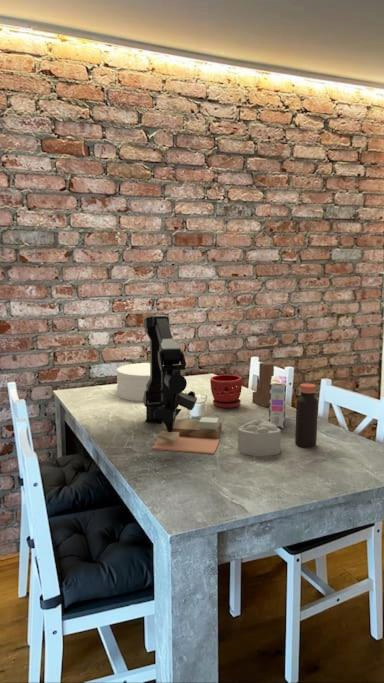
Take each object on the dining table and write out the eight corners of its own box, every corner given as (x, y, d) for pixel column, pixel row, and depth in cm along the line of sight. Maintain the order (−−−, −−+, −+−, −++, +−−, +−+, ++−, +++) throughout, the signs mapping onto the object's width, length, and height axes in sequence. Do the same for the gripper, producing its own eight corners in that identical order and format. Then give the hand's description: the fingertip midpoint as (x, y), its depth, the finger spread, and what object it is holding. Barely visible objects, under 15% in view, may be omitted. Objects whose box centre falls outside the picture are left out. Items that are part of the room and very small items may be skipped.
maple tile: (162, 431, 168) (162, 438, 168) (157, 435, 163) (157, 443, 164) (179, 432, 167) (179, 439, 167) (175, 437, 162) (175, 444, 162)
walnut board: (165, 436, 172) (165, 427, 172) (172, 426, 182) (172, 418, 181) (217, 439, 168) (217, 431, 168) (221, 430, 178) (221, 422, 178)
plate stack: (145, 383, 249) (144, 360, 248) (190, 391, 233) (190, 367, 231) (104, 394, 227) (103, 370, 225) (151, 405, 211) (151, 378, 209)
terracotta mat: (152, 449, 160) (152, 447, 160) (162, 436, 172) (162, 434, 172) (214, 454, 156) (214, 452, 156) (219, 440, 168) (220, 439, 168)
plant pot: (233, 399, 219) (234, 373, 217) (246, 408, 207) (247, 379, 205) (205, 402, 215) (206, 374, 213) (216, 410, 202) (217, 381, 201)
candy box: (284, 428, 181) (286, 384, 178) (268, 427, 182) (269, 383, 179) (285, 417, 194) (286, 375, 192) (270, 416, 195) (271, 375, 193)
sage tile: (199, 428, 171) (199, 421, 170) (201, 424, 176) (201, 417, 175) (216, 429, 170) (216, 422, 169) (218, 425, 174) (218, 418, 174)
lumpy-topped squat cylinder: (283, 454, 156) (283, 427, 155) (242, 457, 154) (243, 429, 152) (271, 442, 166) (272, 417, 165) (233, 445, 164) (234, 419, 162)
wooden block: (252, 402, 216) (253, 360, 213) (260, 400, 218) (261, 360, 215) (264, 407, 208) (265, 364, 205) (273, 406, 210) (274, 363, 207)
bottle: (290, 442, 166) (293, 383, 163) (307, 439, 169) (310, 381, 166) (303, 449, 160) (305, 388, 157) (320, 446, 163) (323, 386, 160)
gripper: (188, 394, 151) (188, 443, 153) (200, 380, 169) (199, 424, 171) (153, 392, 153) (153, 441, 156) (168, 378, 171) (168, 422, 174)
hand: (170, 432), depth 164 cm, fingers closed
